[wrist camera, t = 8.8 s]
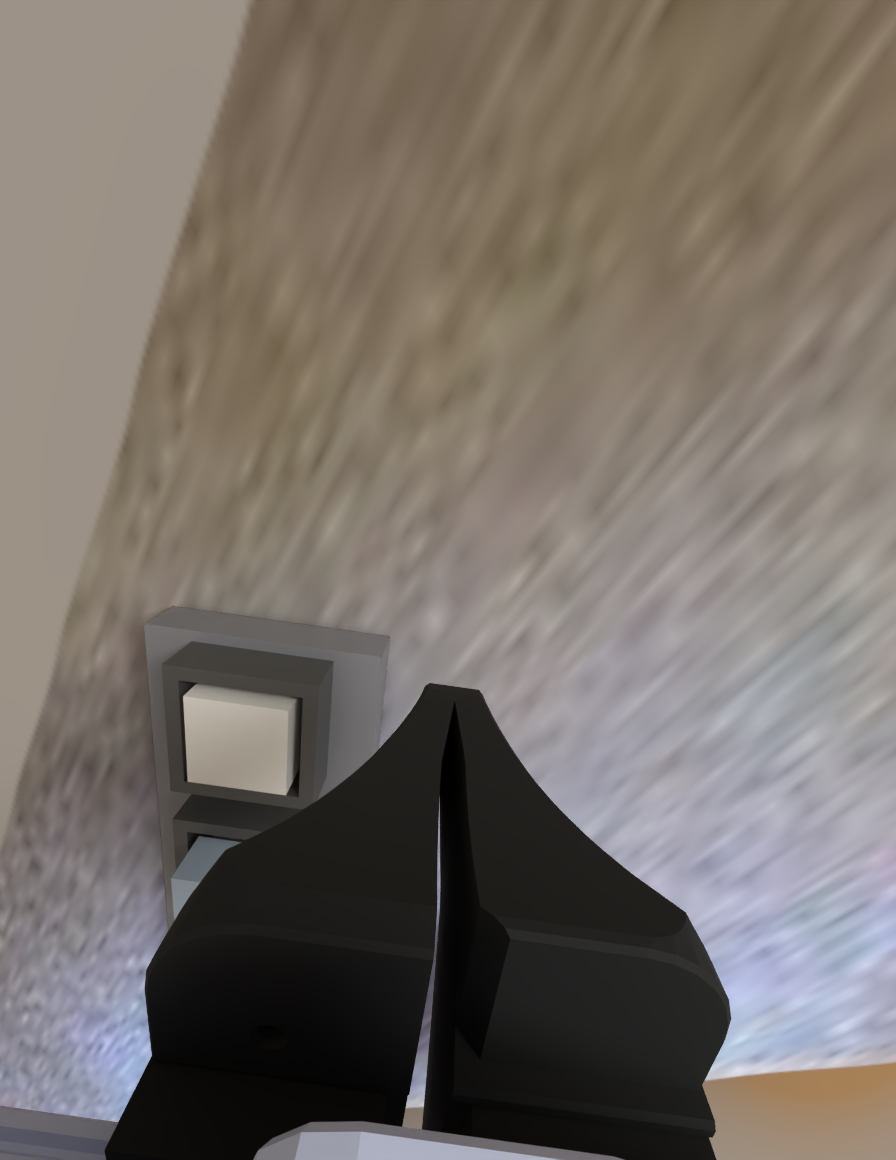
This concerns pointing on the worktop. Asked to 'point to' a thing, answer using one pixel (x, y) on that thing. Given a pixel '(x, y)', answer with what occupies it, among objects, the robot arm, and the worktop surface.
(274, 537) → the worktop surface
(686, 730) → the worktop surface
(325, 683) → the key panel
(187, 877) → the slate blue key
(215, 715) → the off-white key
